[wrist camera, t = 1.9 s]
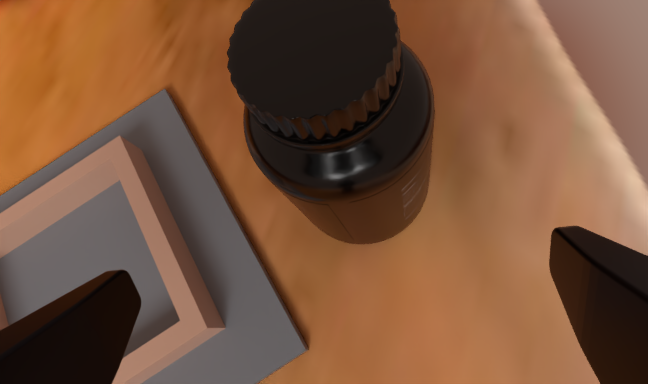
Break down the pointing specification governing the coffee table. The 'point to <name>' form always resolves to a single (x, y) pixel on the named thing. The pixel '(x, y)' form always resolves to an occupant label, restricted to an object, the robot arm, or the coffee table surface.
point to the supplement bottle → (336, 112)
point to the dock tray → (148, 252)
